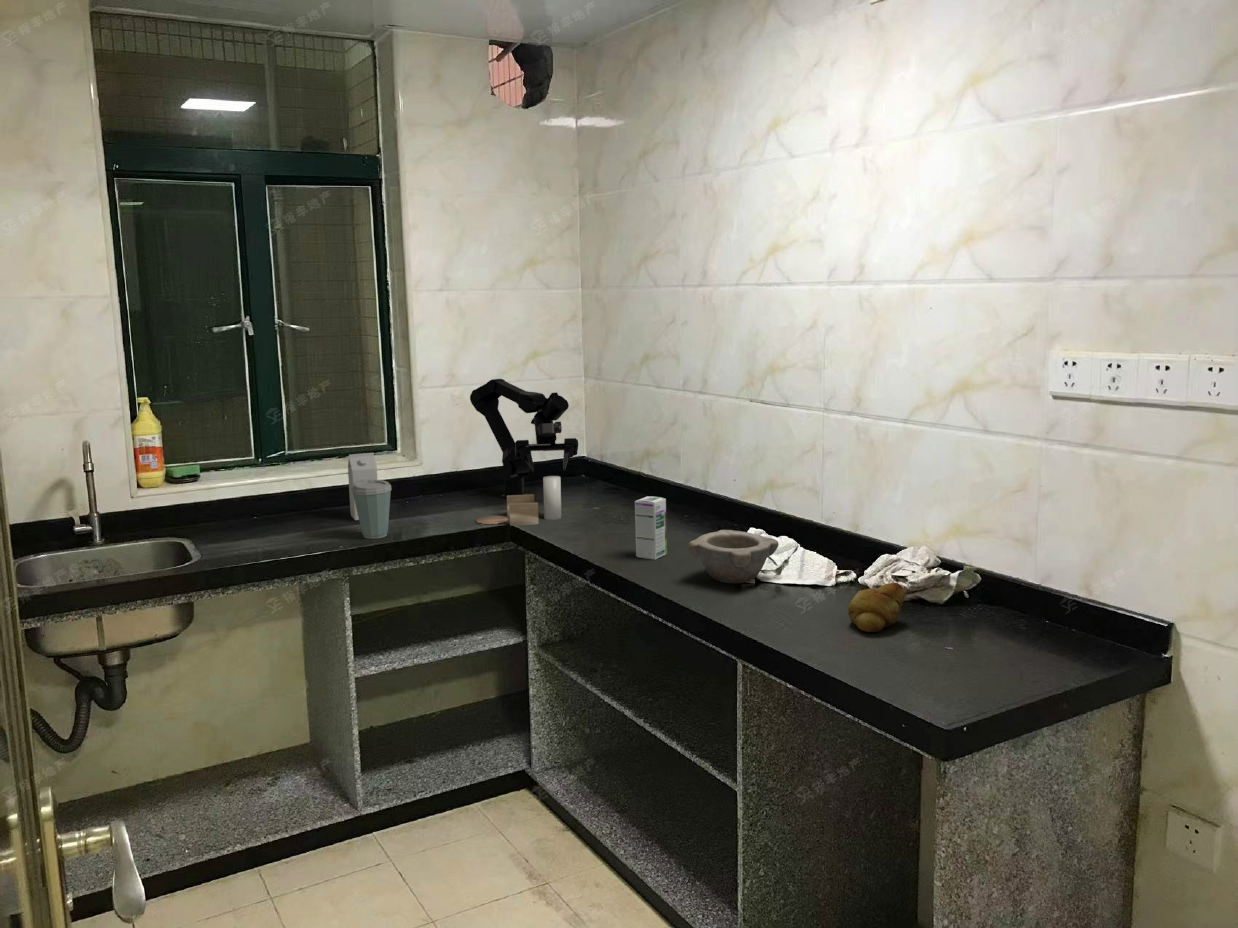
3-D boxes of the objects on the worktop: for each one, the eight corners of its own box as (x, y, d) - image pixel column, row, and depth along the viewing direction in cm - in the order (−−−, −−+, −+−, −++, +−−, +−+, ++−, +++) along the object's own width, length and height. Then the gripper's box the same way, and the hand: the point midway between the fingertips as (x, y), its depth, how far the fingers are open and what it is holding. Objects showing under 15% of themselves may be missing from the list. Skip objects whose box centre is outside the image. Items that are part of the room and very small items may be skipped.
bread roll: (884, 639, 182) (885, 598, 181) (835, 630, 188) (836, 589, 187) (907, 620, 193) (909, 581, 191) (860, 611, 198) (861, 573, 197)
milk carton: (350, 516, 290) (346, 452, 287) (374, 513, 293) (371, 450, 290) (355, 520, 284) (351, 456, 280) (379, 518, 287) (376, 454, 283)
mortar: (741, 594, 211) (742, 553, 209) (680, 579, 222) (680, 540, 220) (784, 577, 223) (785, 538, 221) (724, 564, 234) (725, 526, 233)
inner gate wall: (507, 515, 289) (506, 495, 288) (534, 514, 290) (533, 494, 289) (507, 516, 287) (506, 496, 286) (534, 515, 288) (534, 495, 287)
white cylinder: (551, 515, 288) (550, 475, 286) (564, 517, 285) (563, 476, 283) (540, 518, 284) (539, 478, 282) (554, 520, 281) (553, 479, 279)
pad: (490, 516, 287) (490, 514, 287) (514, 519, 283) (514, 518, 283) (469, 522, 280) (469, 520, 280) (493, 526, 275) (493, 524, 275)
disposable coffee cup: (403, 534, 267) (400, 480, 264) (373, 543, 258) (370, 487, 255) (375, 529, 273) (372, 477, 270) (345, 538, 264) (342, 483, 261)
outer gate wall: (509, 524, 277) (509, 503, 276) (538, 522, 279) (537, 502, 278) (510, 525, 276) (509, 505, 275) (538, 524, 277) (537, 503, 276)
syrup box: (655, 560, 238) (655, 501, 236) (634, 557, 241) (634, 499, 239) (667, 554, 243) (667, 497, 240) (646, 551, 246) (646, 495, 243)
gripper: (514, 413, 290) (518, 456, 281) (576, 411, 293) (582, 453, 285) (513, 436, 299) (517, 478, 290) (574, 433, 302) (579, 475, 294)
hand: (549, 470), depth 289 cm, fingers open, 9 cm apart
